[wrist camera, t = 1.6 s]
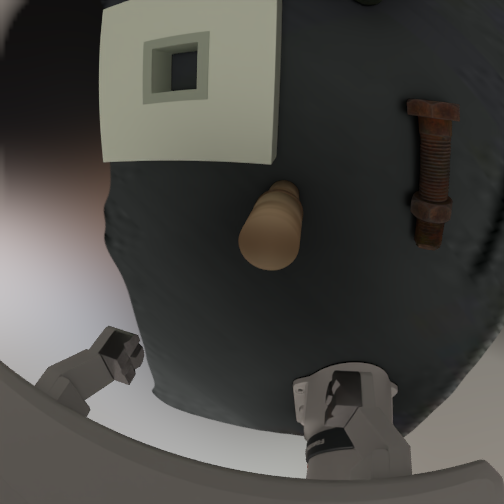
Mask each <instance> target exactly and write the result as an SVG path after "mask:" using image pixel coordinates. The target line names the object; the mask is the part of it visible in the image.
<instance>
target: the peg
mask: <svg viewBox="0 0 504 504" xmlns="http://www.w3.org/2000/svg"><path fill="white" fill-rule="evenodd" d="M302 220H303V208H302V205H301V203H300V201H299V191H298V188H297V187H296V186H295V185H294V184H293V183H292V182H290V181H286V180H281V181H277V182H275V183H274V184H273V185H272V186H271V187H270V189H269V191H267V192H265V193H263V194H262V195H261V196H260V197H259V198H258V200H257V201H256V203H255V205H254V208H253V210H252V212H251V213H250V215H249V217H248V219H247V221H246V222H245V224H244V226H243V228H242V230H241V232H240V235H239V248H240V250H241V253H242V255H243V256H244V257H245V259H246V260H247V261H248V262H249V263H251V264H252V265H254V266H256V267H258V268H260V269H264V270H279V269H282V268H284V267H286V266H288V265H289V264H291V263H292V262H293V261H294V259H295V258H296V256H297V254H298V251H299V245H300V235H301V226H302Z"/></svg>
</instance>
